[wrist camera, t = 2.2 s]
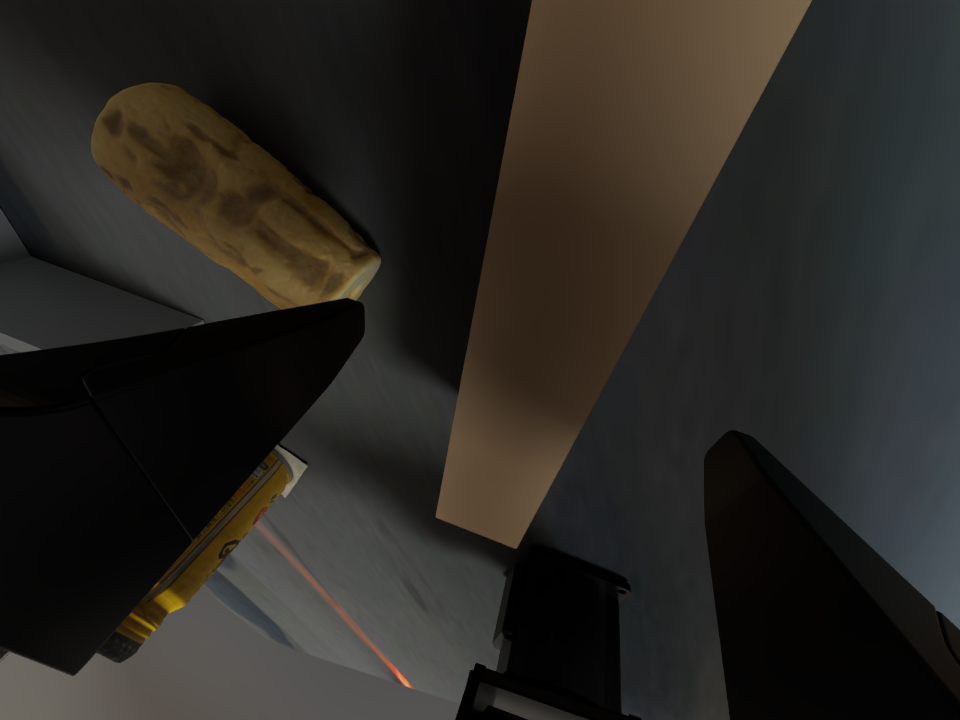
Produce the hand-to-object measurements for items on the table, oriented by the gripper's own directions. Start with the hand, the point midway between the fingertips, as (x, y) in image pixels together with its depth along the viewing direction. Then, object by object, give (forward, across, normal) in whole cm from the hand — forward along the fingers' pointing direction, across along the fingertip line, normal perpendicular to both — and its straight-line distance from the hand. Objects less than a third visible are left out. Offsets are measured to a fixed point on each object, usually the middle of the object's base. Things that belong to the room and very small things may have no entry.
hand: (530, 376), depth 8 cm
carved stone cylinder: (+6, +11, 0) cm, 12 cm away
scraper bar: (+5, 0, 0) cm, 5 cm away
